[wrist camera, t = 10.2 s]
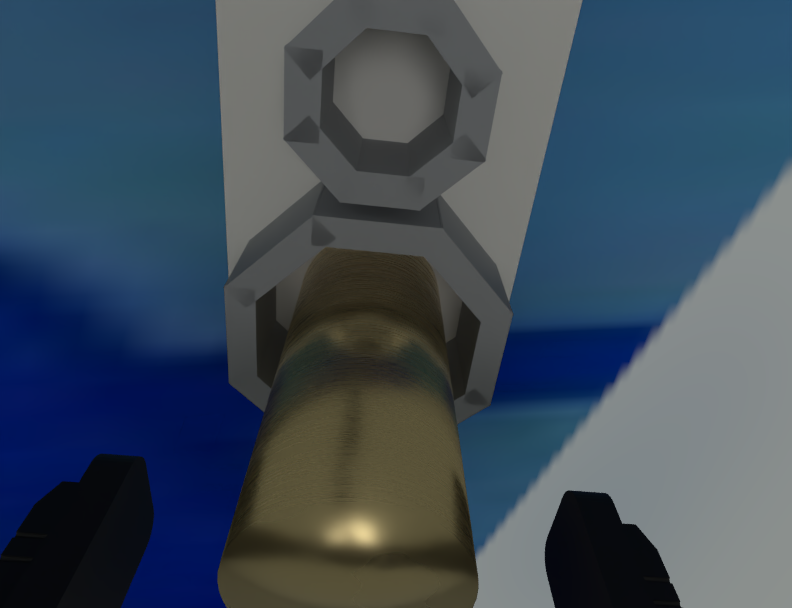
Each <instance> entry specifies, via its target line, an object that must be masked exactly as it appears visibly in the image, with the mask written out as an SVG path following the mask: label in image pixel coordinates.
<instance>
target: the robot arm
mask: <svg viewBox="0 0 792 608" xmlns="http://www.w3.org/2000/svg"><path fill="white" fill-rule="evenodd" d="M153 518H154V510H153V503H152V497H151V492H150V486H149V480H148V474H147V468H146V463H145V460H144V458H143V457H139V456H125V455H112V454H99V455H97V456H96V457H95V458H94V459H93V461H92V462H91V464H90V465H89V467H88V469H87V470H86V472H85V473H84V475H83V477H82V478H81V480H80V482H79V483H78V482H64V481H63V482H61V483H60V484H59V485H58V486H56V487H55V488H54V489H53V490H52V491H50V492H49V493H48V494H47V495H46V496H44V497H43V498H42V499H41V500H39V501H38V502H37V503H36V504H35V505H34V506H33V508H32V509H31V511H30V512H29V514H28V515H27V517H26V518H25V520H24V521H23V523H22V524H21V526H20V527H19V529H18V530H17V534H16V536H15V538H12V539H11V541H10V542H9V544H8V545H7V547H6V548H5V550H4V551H3V553H2V554H1V559H0V608H121V605H122V603H123V601H124V598H125V596H126V594H127V591H128V589H129V587H130V584H131V582H132V580H133V577H134V575H135V573H136V570H137V568H138V566H139V563H140V561H141V559H142V556H143V554H144V552H145V549H146V547H147V544H148V542H149V539H150V535H151V531H152V526H153ZM545 566H546V572H547V577H548V581H549V585H550V589H551V593H552V597H553V601H554V605H555V608H681V606H680V600H679V598H678V595H677V593H676V591H675V589H674V586H673V584H671V583H670V581H669V578H670V577H669V575H668V573H667V571H666V568H665V566H664V564H663V562H662V560H661V557H660V555H659V553H658V551H657V549H656V548H655V547H654V545H653V544H652V543H651V542H650V541H649V540H648V539H647V537H646V536H645V535H644V534H643V533H642V532H641V530H640V529H639V528H638V527H637V526H636V525H634V524H622V522H621V520H620V517H619V515H618V513H617V510H616V508H615V505H614V503H613V501H612V499H611V497H610V496H609V495H608V494H606V493H596V492H582V491H566V492H565V494H564V496H563V498H562V500H561V503H560V506H559V508H558V511H557V514H556V516H555V519H554V521H553V524H552V527H551V529H550V532H549V534H548V537H547V541H546V546H545Z"/></svg>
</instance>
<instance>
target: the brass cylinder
mask: <svg viewBox="0 0 792 608" xmlns="http://www.w3.org/2000/svg"><path fill="white" fill-rule="evenodd" d="M218 587H219V592H220V595H221V597H222V599H223V602H224V604H225V605H226V607H227V608H473V606H474V603H475V601H476V598H477V593H478V573H477V566H476V559H475V551H474V544H473V537H472V529H471V522H470V515H469V507H468V500H467V493H466V486H465V478H464V471H463V464H462V456H461V449H460V442H459V435H458V427H457V420H456V413H455V405H454V398H453V391H452V383H451V376H450V369H449V362H448V354H447V347H446V340H445V332H444V325H443V318H442V310H441V303H440V296H439V289H438V283H437V279H436V276H435V274H434V271H433V270H432V268H431V266H430V264H429V263H428V262H427V260H426V259H425V258H424V257H422V256H412V255H402V254H392V253H382V252H372V251H361V250H351V249H341V248H331V247H325V248H324V249H323V250H322V251H321V252H319V253H318V254H317V256H316V257H315V258H314V259H313V260H312V262H311V263H310V265H309V267H308V268H307V271H306V273H305V276H304V279H303V283H302V286H301V289H300V293H299V296H298V300H297V303H296V306H295V310H294V313H293V317H292V320H291V323H290V327H289V330H288V334H287V337H286V340H285V344H284V347H283V351H282V354H281V357H280V361H279V364H278V368H277V371H276V374H275V378H274V381H273V385H272V388H271V391H270V395H269V398H268V402H267V405H266V408H265V412H264V415H263V419H262V422H261V425H260V429H259V432H258V436H257V439H256V442H255V446H254V449H253V453H252V456H251V459H250V463H249V466H248V470H247V473H246V476H245V480H244V483H243V487H242V490H241V493H240V497H239V500H238V504H237V507H236V510H235V514H234V517H233V521H232V524H231V527H230V531H229V534H228V538H227V541H226V544H225V548H224V551H223V555H222V558H221V561H220V565H219V569H218Z"/></svg>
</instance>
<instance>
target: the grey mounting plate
mask: <svg viewBox="0 0 792 608" xmlns="http://www.w3.org/2000/svg"><path fill="white" fill-rule="evenodd" d="M581 4H582V0H216V18H217V39H218V61H219V82H220V104H221V125H222V147H223V168H224V190H225V211H226V233H227V254H228V276H229V278H228V280H227V282H226V284H225V286H224V295H225V315H226V334H227V354H228V373H229V382H228V383H229V384H231V385H232V386H233V387H234V388H236V389H237V390H238V391H239V392H240V393H242V394H243V395H244V396H245V397H246V398H248V399H249V400H250V401H251V402H252V403H254V404H255V405H256V406H257V407H258V408H260V409H261V410H262V411H263V412H265V408H266V405H267V402H268V398H269V395H270V391H271V388H272V385H273V381H274V378H275V374H276V371H277V368H278V364H279V361H280V357H281V354H282V351H283V347H284V344H285V340H286V337H287V334H288V330H289V327H290V323H291V320H292V317H293V313H294V310H295V306H296V303H297V300H298V296H299V293H300V289H301V286H302V283H303V279H304V276H305V273H306V271H307V268H308V267H309V265H310V263H311V262H312V260H313V259H314V258H315V257H316V256H317V254H318V253H319V252H321V251H322V250H323V249H324V248H325V247H331V248H341V249H351V250H361V251H372V252H382V253H392V254H402V255H412V256H422V257H424V258H425V259H426V260H427V262H428V263H429V264H430V266H431V268H432V270H433V271H434V274H435V276H436V279H437V283H438V289H439V296H440V303H441V310H442V318H443V325H444V332H445V340H446V347H447V354H448V362H449V369H450V376H451V383H452V391H453V398H454V405H455V413H456V420H457V424H459V423H460V422H462V421H464V420H465V419H467V418H469V417H471V416H472V415H474V414H476V413H478V412H479V411H481V410H483V409H484V408H486V407H488V406H490V405H491V400H492V396H493V392H494V388H495V384H496V380H497V376H498V372H499V368H500V364H501V360H502V356H503V352H504V348H505V344H506V340H507V336H508V332H509V328H510V324H511V320H512V316H513V312H512V309H511V306H510V303H509V300H510V296H511V292H512V288H513V284H514V280H515V276H516V271H517V267H518V263H519V259H520V255H521V251H522V247H523V243H524V239H525V234H526V230H527V226H528V222H529V218H530V214H531V210H532V206H533V201H534V197H535V193H536V189H537V185H538V181H539V177H540V173H541V169H542V164H543V160H544V156H545V152H546V148H547V144H548V140H549V136H550V132H551V127H552V123H553V119H554V115H555V111H556V107H557V103H558V99H559V95H560V90H561V86H562V82H563V78H564V74H565V70H566V66H567V62H568V57H569V53H570V49H571V45H572V41H573V37H574V33H575V29H576V25H577V20H578V16H579V12H580V8H581Z"/></svg>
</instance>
